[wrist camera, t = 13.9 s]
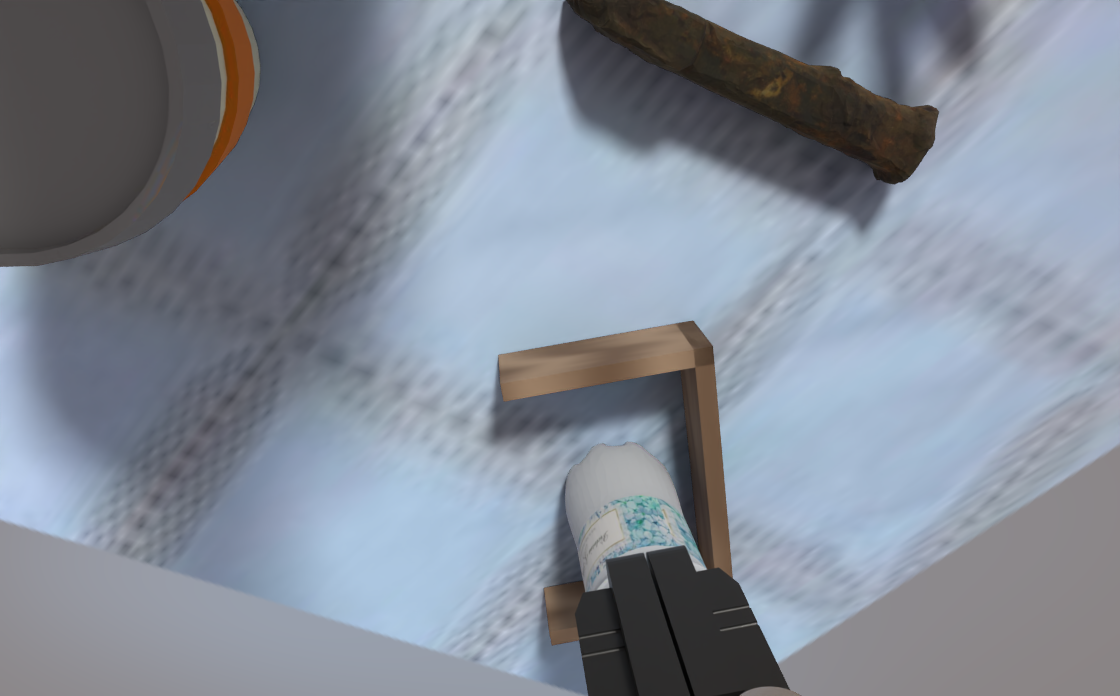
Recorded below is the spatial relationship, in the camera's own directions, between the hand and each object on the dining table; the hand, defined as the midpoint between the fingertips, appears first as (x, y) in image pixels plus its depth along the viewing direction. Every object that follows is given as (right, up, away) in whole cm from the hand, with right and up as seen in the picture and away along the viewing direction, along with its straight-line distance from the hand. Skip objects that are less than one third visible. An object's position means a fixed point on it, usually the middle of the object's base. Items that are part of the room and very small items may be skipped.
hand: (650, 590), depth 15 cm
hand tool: (+7, +18, +26) cm, 32 cm away
